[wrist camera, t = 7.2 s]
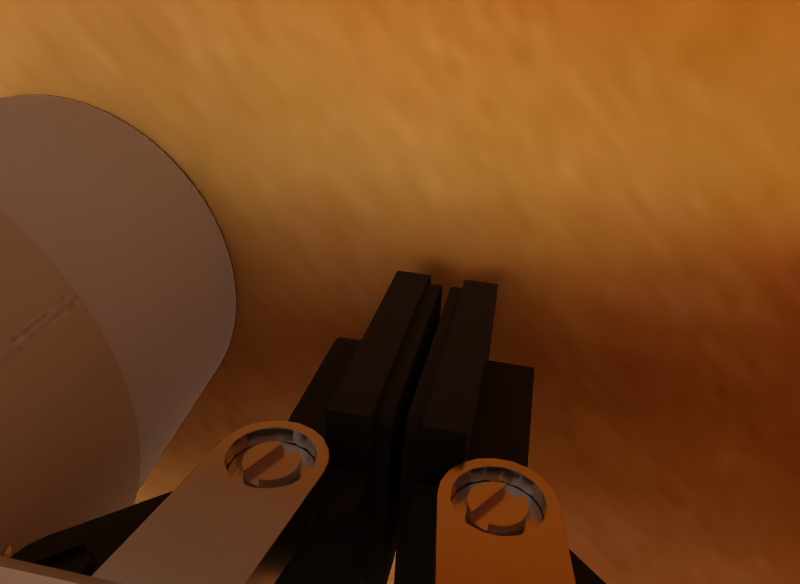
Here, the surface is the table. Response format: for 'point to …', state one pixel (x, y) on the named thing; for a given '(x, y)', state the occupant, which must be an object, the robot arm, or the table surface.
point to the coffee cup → (97, 312)
